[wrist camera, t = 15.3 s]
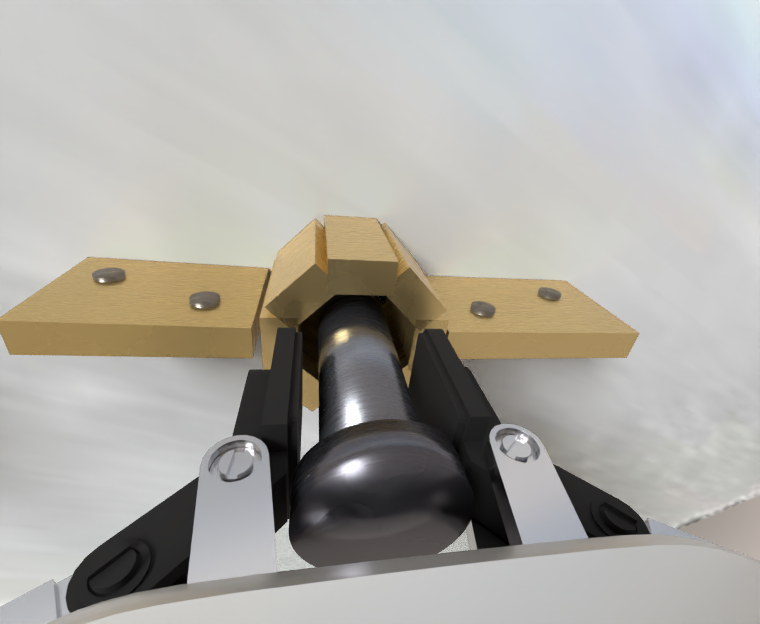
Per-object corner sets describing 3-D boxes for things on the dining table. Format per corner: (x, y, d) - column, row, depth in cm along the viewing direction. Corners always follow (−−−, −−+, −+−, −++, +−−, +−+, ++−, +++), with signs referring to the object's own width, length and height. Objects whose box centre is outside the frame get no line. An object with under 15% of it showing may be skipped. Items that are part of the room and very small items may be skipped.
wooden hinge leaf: (268, 265, 16) (251, 324, 12) (268, 295, 17) (252, 361, 13) (87, 253, 15) (-8, 316, 10) (96, 287, 15) (11, 358, 11)
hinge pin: (382, 324, 18) (455, 564, 9) (304, 323, 17) (290, 583, 8) (391, 251, 16) (495, 455, 7) (304, 247, 16) (286, 467, 6)
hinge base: (542, 342, 21) (602, 404, 16) (277, 341, 18) (265, 416, 14) (584, 231, 18) (670, 273, 13) (272, 212, 15) (255, 255, 11)
